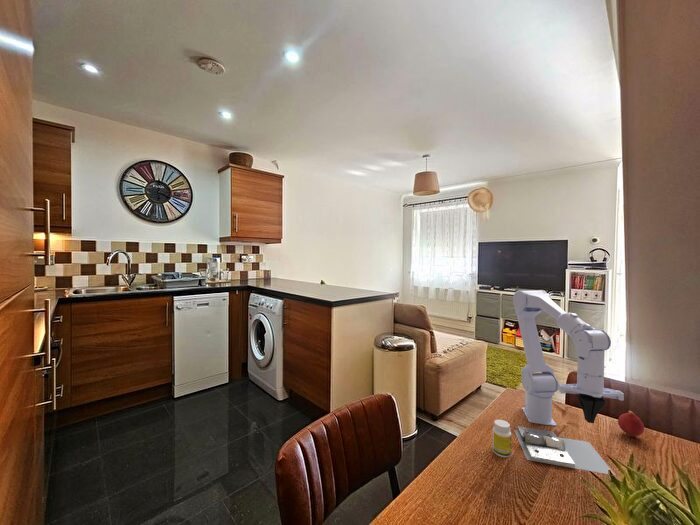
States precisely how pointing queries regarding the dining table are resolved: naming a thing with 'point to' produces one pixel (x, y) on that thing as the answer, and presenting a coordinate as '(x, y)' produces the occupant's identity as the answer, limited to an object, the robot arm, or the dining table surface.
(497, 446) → the supplement bottle
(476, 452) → the dining table surface
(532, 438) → the fixed leaf
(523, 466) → the dining table surface
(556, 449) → the loose leaf
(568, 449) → the mat
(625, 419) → the onion
